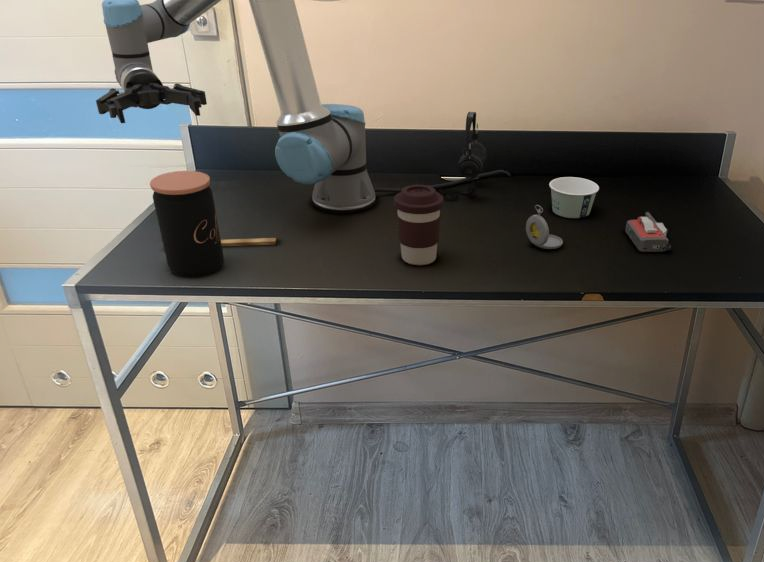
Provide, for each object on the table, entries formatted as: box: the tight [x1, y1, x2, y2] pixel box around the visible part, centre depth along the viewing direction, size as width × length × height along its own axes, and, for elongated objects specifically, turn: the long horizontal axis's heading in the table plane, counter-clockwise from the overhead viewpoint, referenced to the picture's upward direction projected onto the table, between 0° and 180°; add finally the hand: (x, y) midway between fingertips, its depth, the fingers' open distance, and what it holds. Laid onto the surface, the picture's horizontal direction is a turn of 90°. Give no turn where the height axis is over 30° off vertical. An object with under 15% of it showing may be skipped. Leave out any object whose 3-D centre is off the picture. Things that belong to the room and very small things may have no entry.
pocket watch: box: [525, 204, 564, 250], centre depth 152 cm, size 8×8×10 cm
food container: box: [548, 176, 600, 219], centre depth 170 cm, size 12×12×6 cm
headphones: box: [439, 111, 488, 201], centre depth 175 cm, size 15×11×20 cm
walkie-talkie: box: [625, 211, 672, 253], centre depth 160 cm, size 9×4×20 cm
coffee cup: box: [393, 184, 444, 266], centre depth 143 cm, size 10×10×15 cm
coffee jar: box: [149, 170, 225, 278], centre depth 136 cm, size 11×11×18 cm
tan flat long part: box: [221, 237, 277, 247], centre depth 150 cm, size 22×3×1 cm, turn 99°
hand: (160, 112), depth 133 cm, fingers open, 13 cm apart
